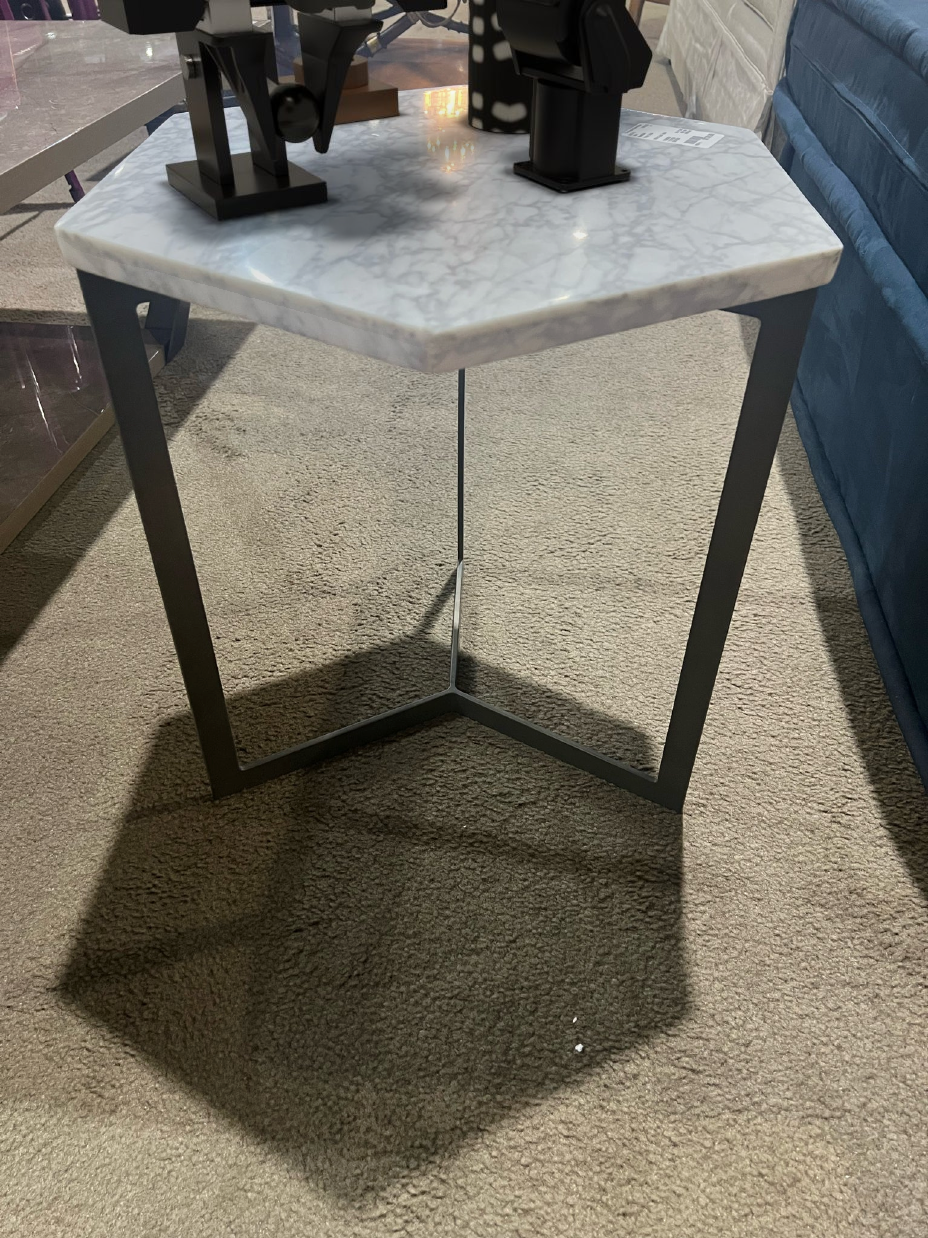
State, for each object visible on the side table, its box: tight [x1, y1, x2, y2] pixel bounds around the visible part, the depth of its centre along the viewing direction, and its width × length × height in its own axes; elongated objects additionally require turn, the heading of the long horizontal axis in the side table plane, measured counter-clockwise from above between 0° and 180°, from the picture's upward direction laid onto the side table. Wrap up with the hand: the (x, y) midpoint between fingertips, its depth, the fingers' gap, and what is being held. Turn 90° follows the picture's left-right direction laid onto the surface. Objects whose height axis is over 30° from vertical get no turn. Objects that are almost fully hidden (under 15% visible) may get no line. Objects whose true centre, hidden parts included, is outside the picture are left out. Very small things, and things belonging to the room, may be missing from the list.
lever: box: [217, 65, 320, 144], centre depth 58 cm, size 13×3×3 cm, turn 32°
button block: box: [278, 53, 400, 125], centre depth 84 cm, size 10×8×4 cm
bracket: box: [165, 24, 329, 222], centre depth 62 cm, size 10×8×10 cm
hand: (296, 155), depth 56 cm, fingers closed on lever, 3 cm apart
